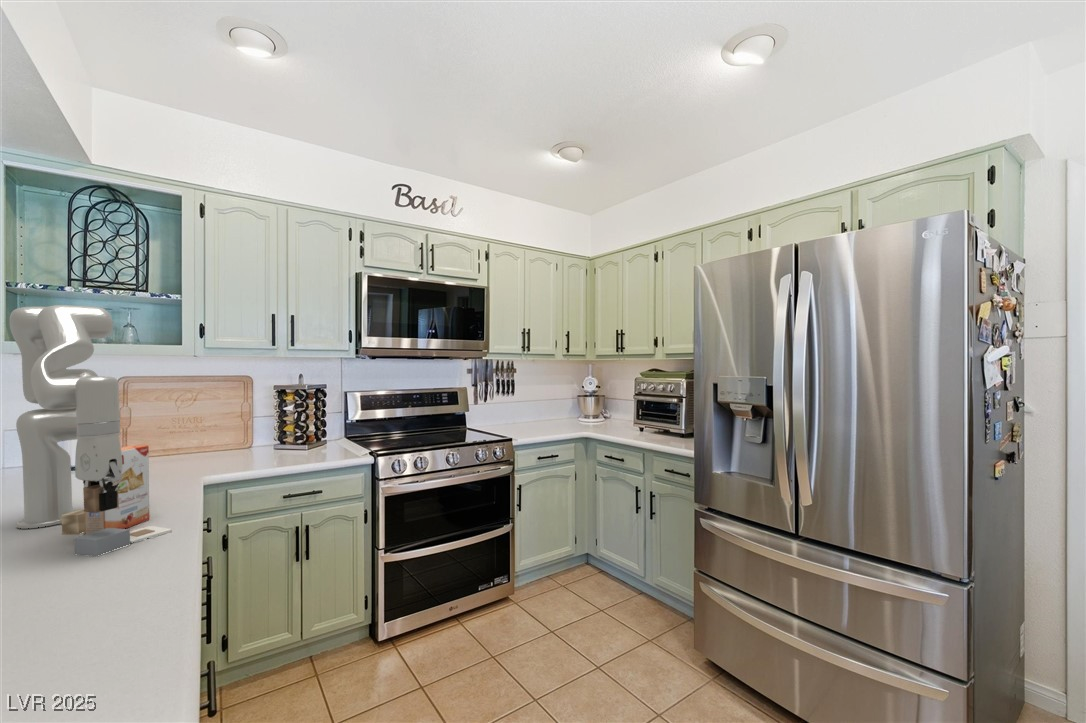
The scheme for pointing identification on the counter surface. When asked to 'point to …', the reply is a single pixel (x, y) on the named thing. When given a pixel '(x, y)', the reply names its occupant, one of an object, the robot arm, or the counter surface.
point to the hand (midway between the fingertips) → (101, 507)
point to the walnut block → (93, 499)
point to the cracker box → (126, 494)
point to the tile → (147, 533)
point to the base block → (101, 541)
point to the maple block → (73, 522)
